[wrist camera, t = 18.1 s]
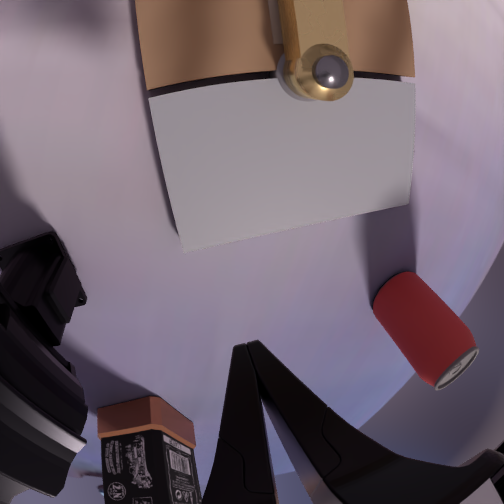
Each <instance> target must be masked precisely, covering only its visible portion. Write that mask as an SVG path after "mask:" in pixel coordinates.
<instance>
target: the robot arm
mask: <svg viewBox="0 0 504 504" xmlns="http://www.w3.org/2000/svg"><path fill="white" fill-rule="evenodd" d="M49 237H51V238H52V239H53V241H51V240H50V239H49ZM0 255H1V256H2V257H1V256H0V268H1V269H2V273H1V275H0V504H10V502H11V500H12V499H13V497H14V496H16V495H18V494H20V493H22V492H24V491H26V490H28V489H32V490H35V491H37V492H40V493H42V494H44V495H47V496H50V497H55V496H57V494H58V493H59V492H60V491H61V490H62V489H63V488H64V484H65V481H66V477H67V474H68V470H69V467H70V465H71V462H72V461H73V459H74V457H75V456H76V454H77V453H78V452H79V451H80V450H81V449H82V448H83V447H84V446H85V445H86V443H87V441H86V439H84V438H83V437H81V436H80V435H81V433H82V431H83V428H84V425H85V422H86V420H87V413H88V406H87V405H86V404H85V399H84V393H83V388H82V386H81V384H80V382H79V381H78V379H77V378H76V372H75V367H74V366H73V365H72V364H71V363H70V362H67V361H66V360H65V359H64V358H63V357H62V356H61V355H60V354H59V353H58V352H57V351H56V350H55V348H54V347H53V346H59V345H60V343H61V339H62V336H63V332H64V328H65V325H66V323H69V322H70V320H71V316H72V313H73V310H74V307H78V306H82V305H85V304H86V301H87V296H86V294H85V292H84V291H83V289H82V287H81V282H80V280H79V278H78V276H77V274H76V272H75V270H74V268H73V266H72V264H71V262H70V260H69V258H68V257H67V256H66V254H65V252H64V250H63V248H62V245H61V243H60V241H59V239H58V236H57V235H56V233H54V232H47V233H44V234H41V235H38V236H36V237H33V238H30V239H27V240H24V241H21V242H19V243H16V244H13V245H11V246H8V247H5V248H3V249H0ZM79 298H81V299H83V300H81V299H79ZM261 399H262V401H261ZM262 402H263V404H264V407H265V409H266V411H267V413H268V415H269V417H270V419H271V422H272V424H273V426H274V428H275V430H276V432H277V434H278V436H279V438H280V440H281V442H282V444H283V446H284V448H285V450H286V452H287V454H288V456H289V458H290V460H291V462H292V464H293V466H294V468H295V470H296V472H297V474H298V476H299V478H300V480H301V481H302V483H303V485H304V487H305V489H306V491H307V493H308V494H309V496H310V498H311V500H312V502H313V504H504V440H503V441H502V442H501V443H500V444H499V445H498V446H497V447H496V448H495V449H494V450H491V449H485V450H483V451H482V452H480V453H478V454H477V455H475V456H474V457H472V458H471V459H469V460H467V461H466V462H464V463H463V464H461V465H459V466H458V467H452V466H446V465H440V464H435V463H430V462H425V461H420V460H415V459H411V458H407V457H404V456H401V455H399V454H396V453H394V452H392V451H391V450H389V449H387V448H385V447H383V446H382V445H381V444H379V443H377V442H376V441H374V440H373V439H371V438H369V437H368V436H366V435H365V434H363V433H362V432H360V431H359V430H357V429H356V428H354V427H353V426H351V425H350V424H349V423H347V422H346V421H345V420H344V419H343V418H341V417H340V416H339V415H338V414H337V413H335V412H334V411H333V410H332V409H331V408H330V407H327V405H326V404H325V403H324V402H323V401H322V400H321V399H320V398H319V397H318V396H317V395H315V394H314V393H313V392H312V391H311V390H310V389H309V388H308V387H307V386H306V385H305V384H304V383H303V382H301V381H300V380H299V379H298V378H297V377H296V376H295V375H294V374H293V373H292V372H291V371H290V370H289V369H288V368H287V367H286V366H285V365H284V364H283V363H282V362H281V361H280V360H279V359H278V358H277V357H275V356H274V355H273V354H272V353H271V352H270V351H269V350H268V349H267V348H266V347H265V346H264V345H263V344H262V343H261V342H260V341H259V340H254V341H251V342H248V343H247V344H245V343H243V344H239V345H235V346H234V347H233V351H232V357H231V364H230V370H229V376H228V382H227V388H226V394H225V400H224V406H223V412H222V419H221V425H220V431H219V438H218V442H217V448H216V453H215V458H214V463H213V467H212V470H211V474H210V477H209V480H208V483H207V487H206V490H205V493H204V496H203V499H202V501H201V504H279V500H278V495H277V489H276V483H275V478H274V471H273V466H272V460H271V454H270V448H269V442H268V436H267V430H266V424H265V418H264V412H263V406H262Z"/></svg>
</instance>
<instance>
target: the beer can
mask: <svg viewBox="0 0 504 504" xmlns="http://www.w3.org/2000/svg"><path fill="white" fill-rule="evenodd" d="M373 313H374V315H375V317H376V318H377V319H378V321H379V322H380V323H381V325H382V326H383V327H384V329H385V330H386V331H387V333H388V334H389V335H390V337H391V338H392V339H393V341H394V342H395V343H396V345H397V346H398V347H399V349H400V350H401V352H402V353H403V354H404V356H405V357H406V358H407V360H408V361H409V363H410V364H411V365H412V367H413V368H414V370H415V371H416V372H417V374H418V375H419V377H420V378H421V379H422V380H424V381H425V382H427V383H428V384H430V385H432V386H434V388H435V390H441V389H443V388H444V387H446V386H448V385H449V384H451V383H452V382H453V381H454V380H456V379H457V378H458V377H459V376H460V375H461V374H462V373H463V372H464V371H465V370H466V369H467V368H468V367H469V366H470V365H471V364H472V362H473V361H474V359H475V358H476V356H477V355H478V352H479V348H478V347H476V344H475V341H474V338H473V335H472V333H471V332H470V330H469V329H468V327H467V326H466V325H465V324H464V323H463V322H462V321H461V320H460V318H459V317H458V316H457V315H456V314H455V313H454V312H453V311H452V310H451V309H450V308H449V307H448V306H447V305H446V304H445V302H444V301H443V300H442V299H441V298H440V297H439V296H438V295H437V294H436V293H435V292H434V291H433V290H432V289H431V288H430V287H429V286H428V285H427V284H426V283H425V282H424V281H423V280H422V279H421V278H420V277H419V276H418V275H417V274H416V273H414V272H409V271H407V272H402V273H399V274H397V275H395V276H393V277H392V278H391V279H389V280H388V281H387V282H386V283H385V284H384V285H383V286H382V287H381V289H380V290H379V292H378V293H377V295H376V297H375V300H374V303H373Z"/></svg>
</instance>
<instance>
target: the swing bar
mask: <svg viewBox="0 0 504 504" xmlns="http://www.w3.org/2000/svg"><path fill="white" fill-rule="evenodd" d="M277 2H278V9H279V16H280V23H281V31H282V39H283V47H284V55H285V63H284V66H283V75H284V79H285V82H286V84H287V86H288V87H289V88H290V90H291V91H292V92H294V93H295V94H296V95H298V96H300V97H303V98H308V99H315V100H322V101H335V100H338V99H340V98H342V97H344V96H345V95H346V94H347V93H348V92H349V90H350V89H351V87H352V84H353V80H354V70H353V66H352V63H351V61H350V58H349V48H348V38H347V30H346V22H345V15H344V8H343V2H342V0H277Z"/></svg>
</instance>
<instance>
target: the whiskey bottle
mask: <svg viewBox="0 0 504 504" xmlns="http://www.w3.org/2000/svg"><path fill="white" fill-rule="evenodd" d="M97 432H98V438H99V439H100V440H101V458H102V477H103V490H104V499H105V504H201V501H202V497H201V492H200V486H199V481H198V475H197V469H196V463H195V457H194V450H193V449H194V448H195V447H196V441H195V434H194V425H193V423H192V422H191V421H190V420H188V419H187V418H186V417H184V416H183V415H182V414H180V413H179V412H178V411H176V410H175V409H174V408H173V407H171V406H170V405H169V404H167V403H166V402H165V401H164V400H163V399H161V398H159V397H153V396H148V397H144V398H140V399H136V400H132V401H128V402H124V403H120V404H116V405H111V406H107V407H102V408H98V409H97Z"/></svg>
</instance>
